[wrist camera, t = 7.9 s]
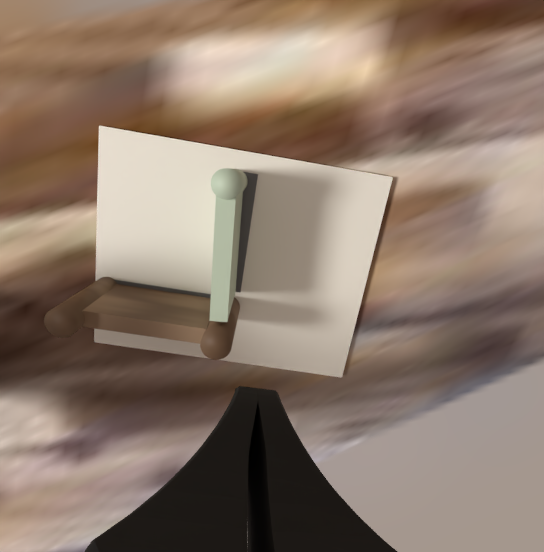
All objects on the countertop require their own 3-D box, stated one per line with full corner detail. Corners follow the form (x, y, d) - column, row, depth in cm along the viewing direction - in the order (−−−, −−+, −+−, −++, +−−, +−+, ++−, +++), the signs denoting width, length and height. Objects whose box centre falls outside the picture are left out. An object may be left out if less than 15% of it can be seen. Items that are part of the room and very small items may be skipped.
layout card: (96, 339, 21) (93, 343, 21) (101, 126, 18) (98, 125, 17) (341, 374, 22) (342, 378, 21) (391, 176, 18) (393, 177, 18)
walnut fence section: (95, 298, 20) (44, 335, 15) (95, 274, 20) (43, 306, 15) (238, 319, 20) (229, 361, 16) (241, 297, 20) (233, 334, 16)
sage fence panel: (239, 293, 20) (231, 324, 16) (217, 291, 20) (203, 322, 16) (248, 170, 18) (242, 169, 14) (224, 167, 18) (211, 166, 14)
